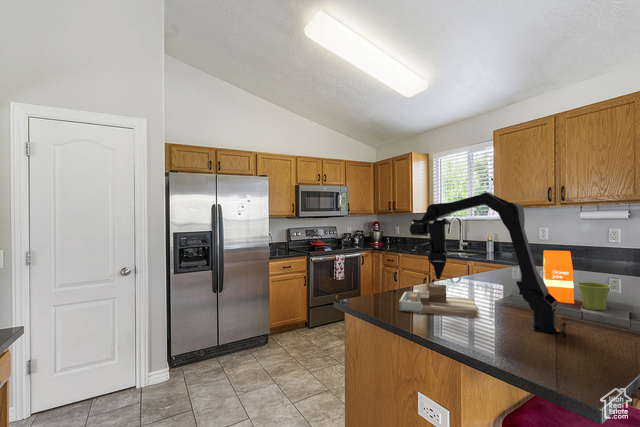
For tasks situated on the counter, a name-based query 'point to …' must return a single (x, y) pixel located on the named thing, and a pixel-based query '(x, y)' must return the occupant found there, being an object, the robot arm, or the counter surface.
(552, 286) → the orange juice
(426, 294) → the brown stepped block
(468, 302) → the maple board
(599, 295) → the plant pot
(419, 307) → the tray
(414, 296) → the terracotta tile
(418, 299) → the cream tile
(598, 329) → the counter surface
